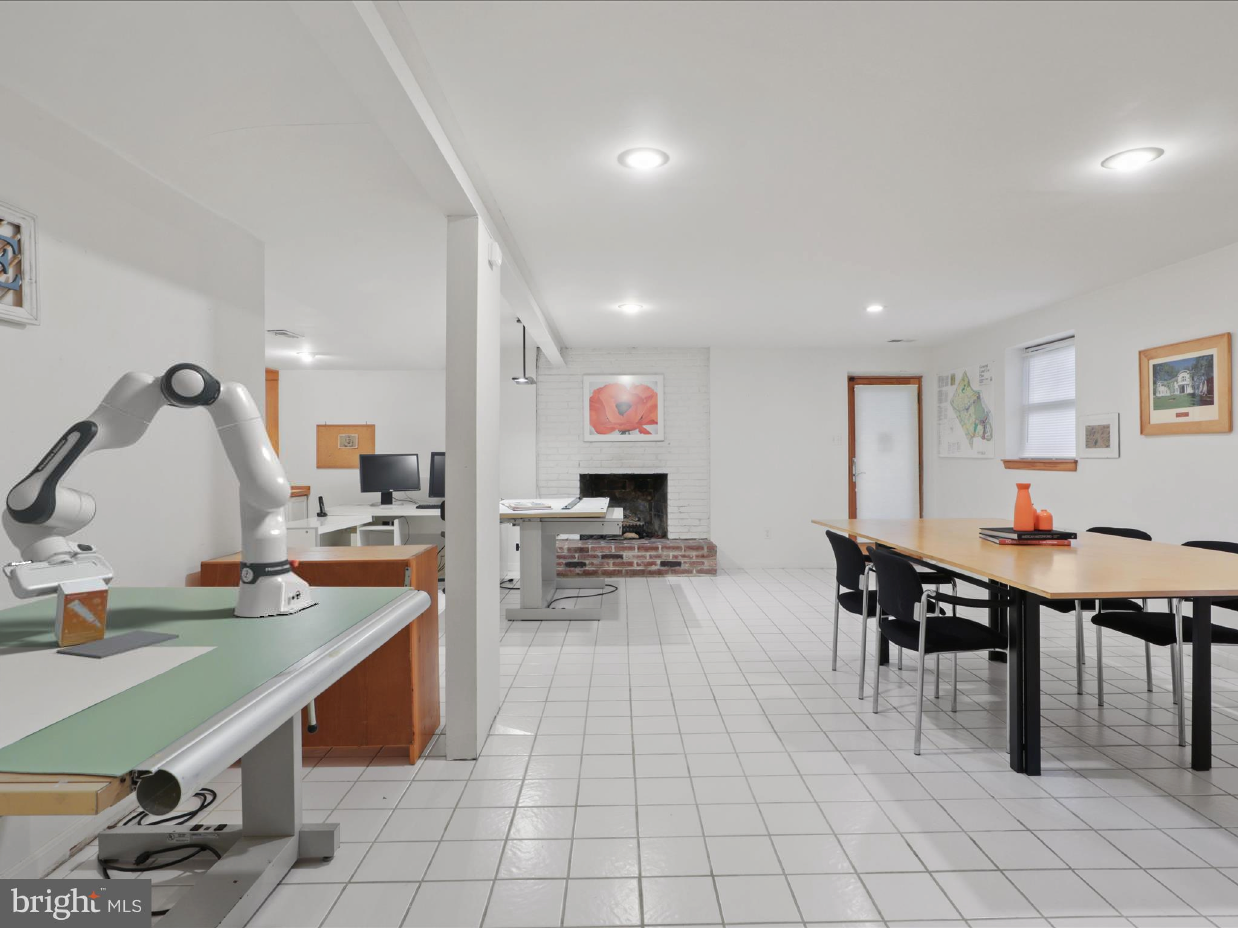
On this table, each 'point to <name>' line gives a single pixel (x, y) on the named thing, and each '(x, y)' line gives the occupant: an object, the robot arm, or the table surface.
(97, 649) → the mat
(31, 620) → the table surface
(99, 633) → the small box
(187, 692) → the table surface
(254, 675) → the table surface
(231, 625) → the table surface
